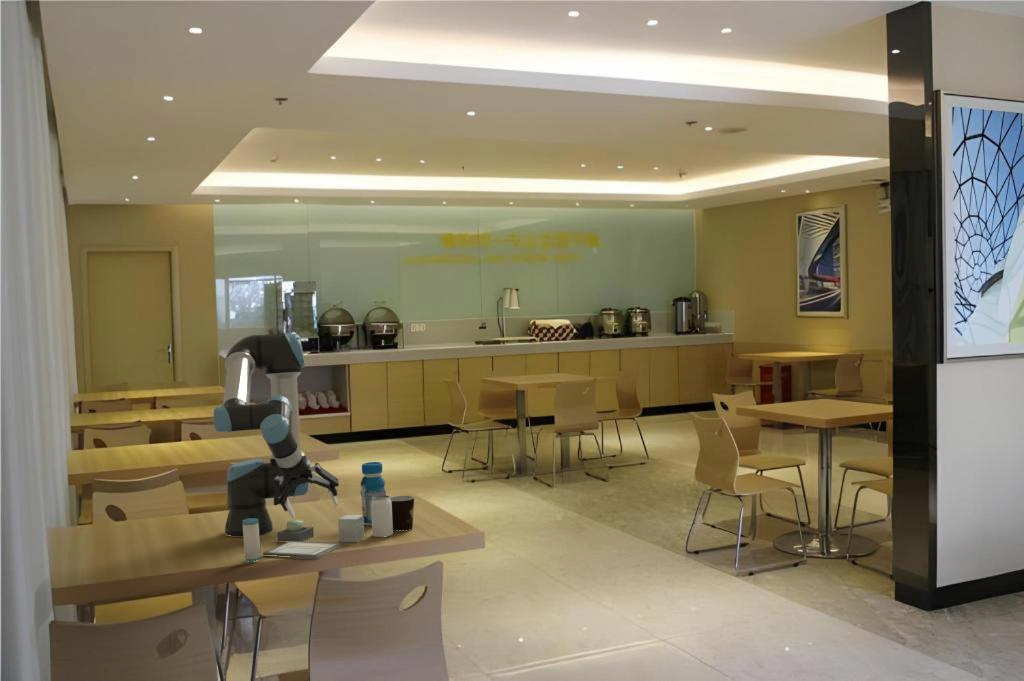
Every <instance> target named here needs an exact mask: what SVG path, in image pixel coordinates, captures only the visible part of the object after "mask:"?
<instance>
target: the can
mask: <svg viewBox="0 0 1024 681" xmlns="http://www.w3.org/2000/svg"><path fill="white" fill-rule="evenodd" d="M371 518H372V525H371V531H372V532H371V533H372V536H373V537H374V536H375V537H374V538H376V537H384V536H389V537H391V536H393V534H394V531H393V521H392V504H391V500H390V495H386V496H376V497H373V498H372V501H371ZM390 535H391V536H390ZM384 538H385V537H384Z"/></svg>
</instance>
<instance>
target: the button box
mask: <svg viewBox="0 0 1024 681" xmlns="http://www.w3.org/2000/svg"><path fill="white" fill-rule="evenodd" d="M303 529H304V530H303V531H300V532H287V527H286V528H284V529H282V530H280V531H278V532H276V536H277V542H278V541H303V540H305V541H307V540H309V539H311V538H310V537H312V538H314V537H315V534H314V532H315V531H314V526H303ZM313 536H314V537H313ZM308 538H309V539H308ZM306 539H307V540H306Z"/></svg>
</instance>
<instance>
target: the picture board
mask: <svg viewBox="0 0 1024 681" xmlns="http://www.w3.org/2000/svg"><path fill="white" fill-rule="evenodd" d="M337 548H338V549H341V548H342V542H325V541H307V540H305V541H289V542H283V543H282V544H279V545H278V546H275V547H273V548H270V549H268V550H266V551H264V552H262V556H263V555H277V556H290V557H297V558H296V559H304V560H318V559H320V558H322V557H324V556H326V555H328V554H330V553H332V552H334V551H336V550H338V549H337ZM335 549H336V550H335Z"/></svg>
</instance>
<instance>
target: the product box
mask: <svg viewBox="0 0 1024 681" xmlns="http://www.w3.org/2000/svg"><path fill="white" fill-rule="evenodd" d="M337 521H338V539H339V542H338V543H358V542H360V541H361V539H362V538H363V539H365V524H364V520H363V514H345V515H343V516H341V517H339V518H338V519H337ZM363 539H362V540H363Z"/></svg>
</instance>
